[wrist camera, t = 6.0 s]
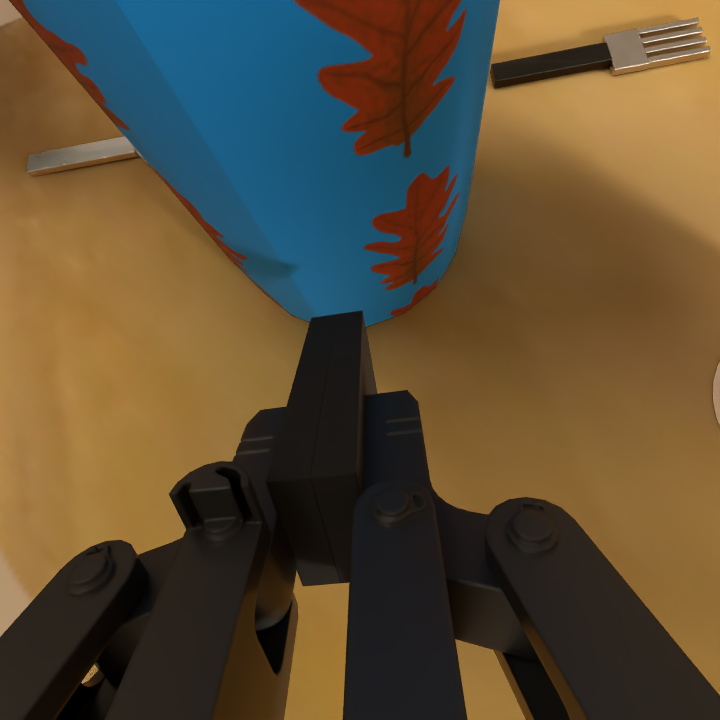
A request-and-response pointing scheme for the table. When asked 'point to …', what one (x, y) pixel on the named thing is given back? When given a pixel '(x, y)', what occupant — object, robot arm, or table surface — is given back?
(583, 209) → the table surface
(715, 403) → the cylindrical container
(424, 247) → the thermos
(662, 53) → the fork
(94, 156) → the metal disc paddle
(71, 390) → the table surface
